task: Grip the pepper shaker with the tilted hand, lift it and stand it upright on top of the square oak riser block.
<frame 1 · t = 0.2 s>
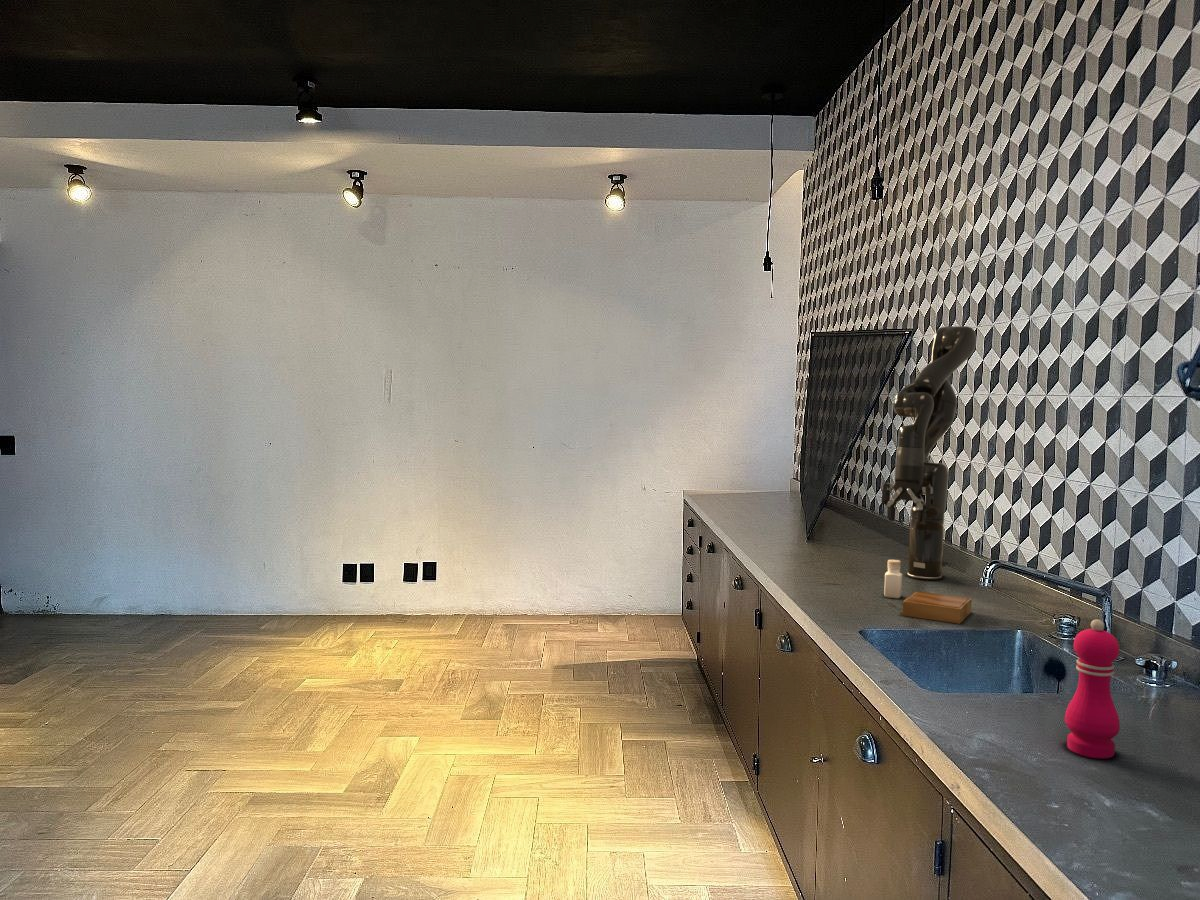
hand: (905, 522, 252), 17 cm above the worktop, tool pointing down, fingers open, 8 cm apart
pepper mill: (1090, 752, 136), on the worktop
riser: (936, 614, 219), on the worktop
pepper shaker: (892, 597, 236), on the worktop
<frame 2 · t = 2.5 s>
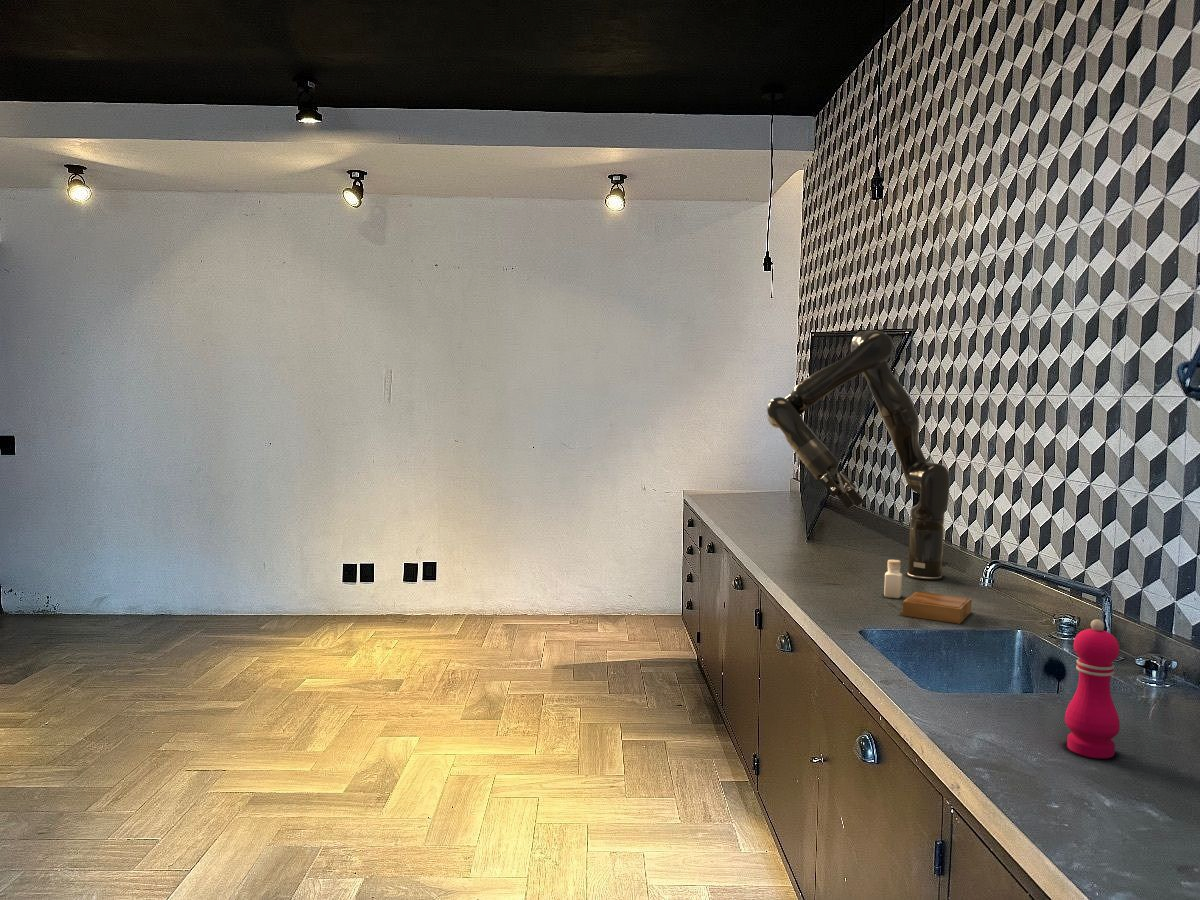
hand: (855, 505, 241), 23 cm above the worktop, tool tilted 45°, fingers open, 8 cm apart
nothing on the worktop moved.
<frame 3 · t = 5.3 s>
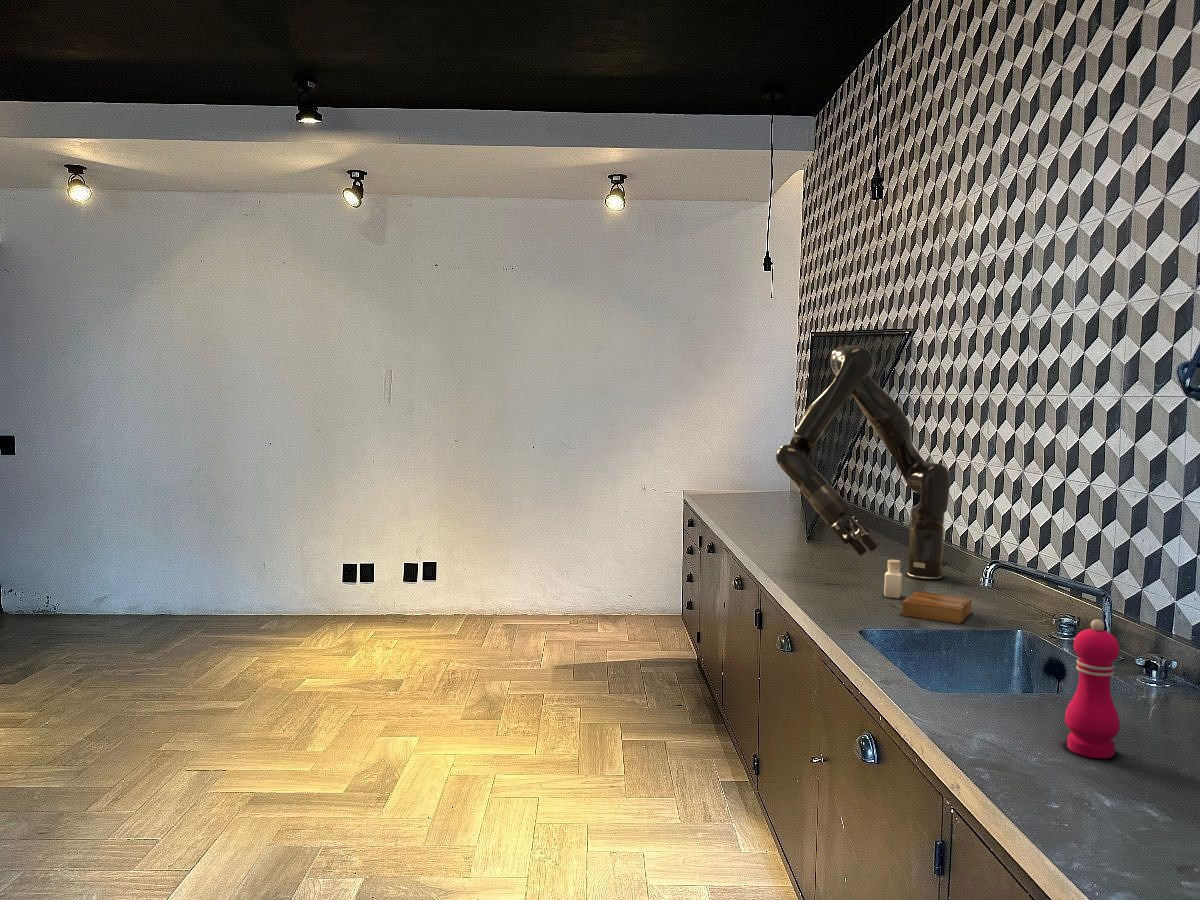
hand: (869, 551, 239), 11 cm above the worktop, tool tilted 45°, fingers open, 8 cm apart
nothing on the worktop moved.
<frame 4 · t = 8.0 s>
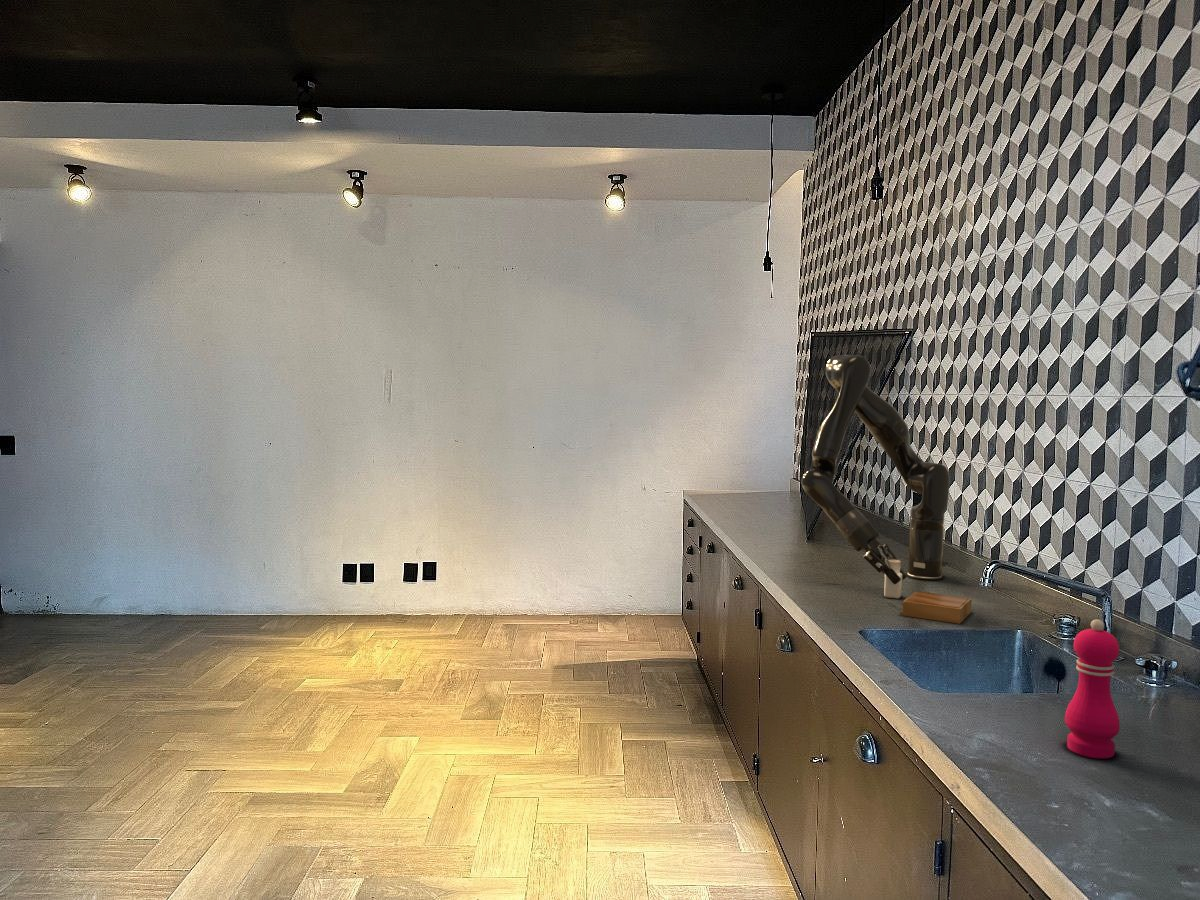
hand: (900, 580, 235), 5 cm above the worktop, tool tilted 45°, fingers closed on pepper shaker, 4 cm apart
pepper shaker: (892, 597, 236), on the worktop, touching gripper
everything else where it was.
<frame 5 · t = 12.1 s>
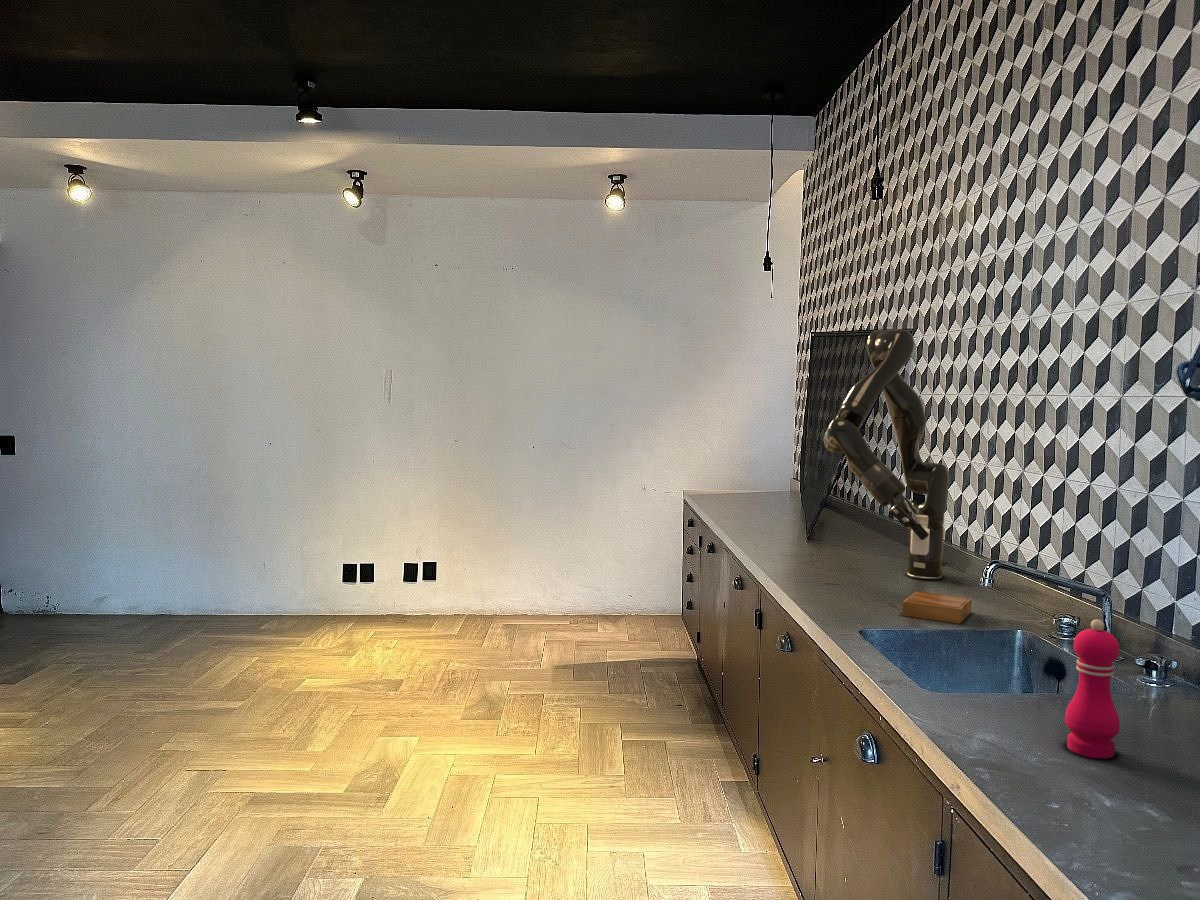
hand: (928, 536, 223), 18 cm above the worktop, tool tilted 45°, fingers closed on pepper shaker, 4 cm apart
pepper shaker: (919, 554, 225), point 13 cm above the worktop, touching gripper
everything else where it was.
when the fingers open (8 cm above the worktop, at t = 16.1 s): pepper shaker stays where it is, resting on riser.
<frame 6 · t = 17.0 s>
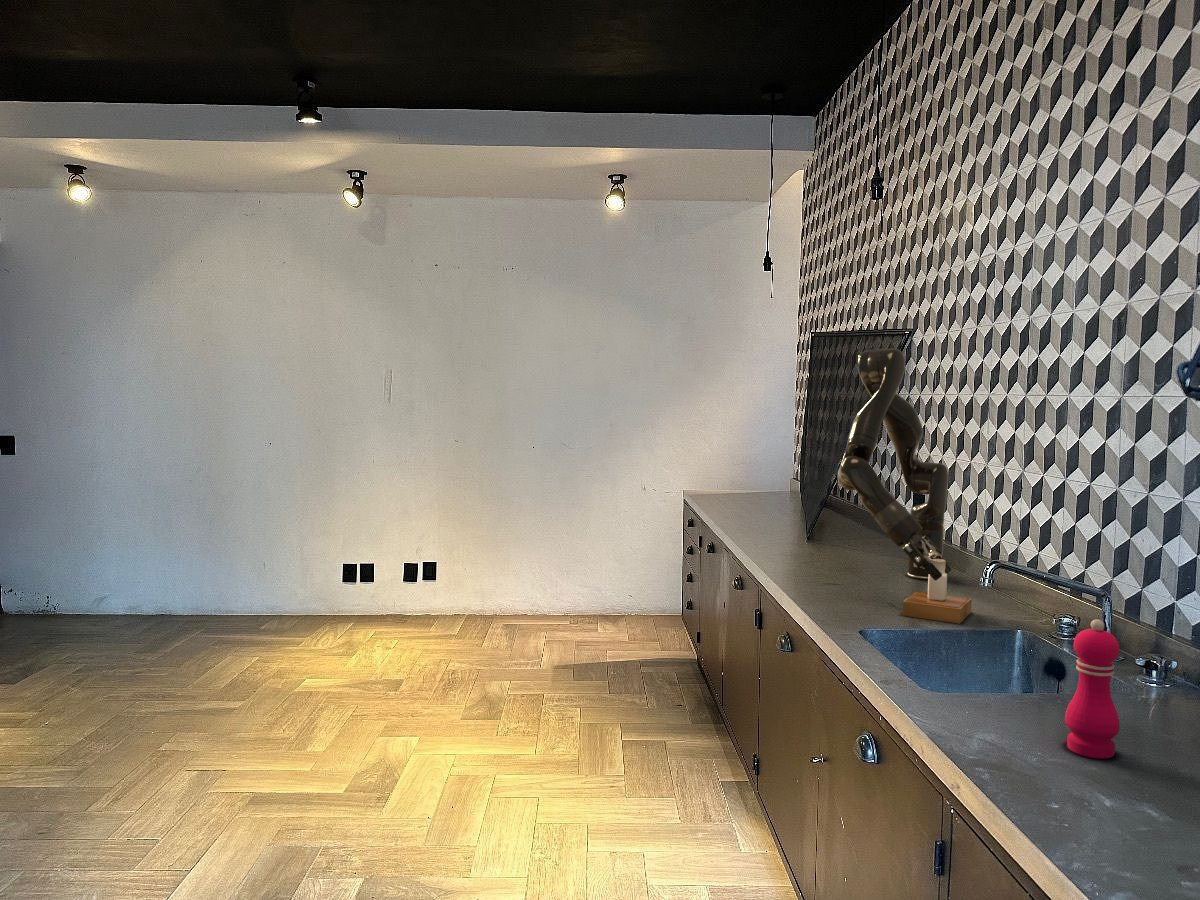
hand: (944, 575, 217), 10 cm above the worktop, tool tilted 45°, fingers open, 8 cm apart
pepper shaker: (936, 599, 219), point 3 cm above the worktop, touching riser
everything else where it was.
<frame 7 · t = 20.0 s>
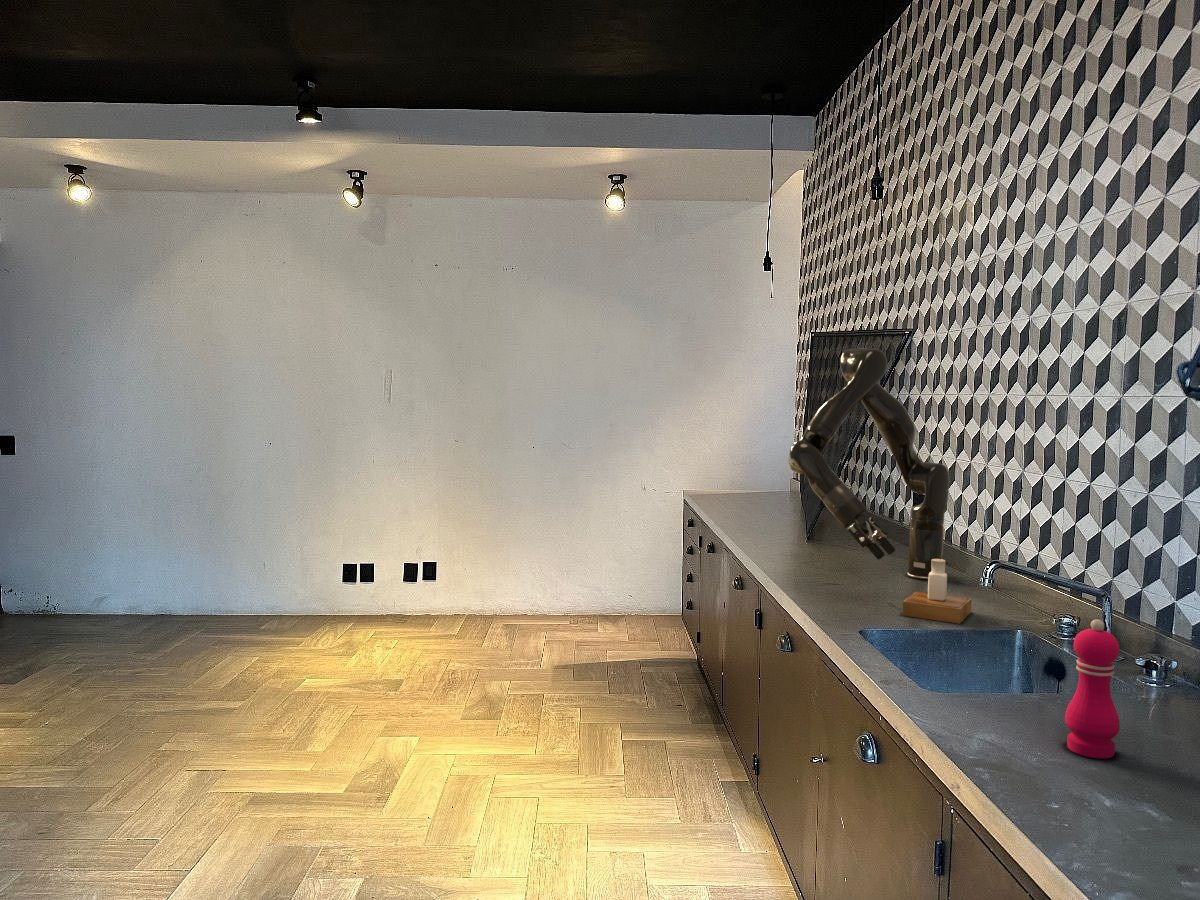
hand: (887, 554, 226), 13 cm above the worktop, tool tilted 45°, fingers open, 8 cm apart
nothing on the worktop moved.
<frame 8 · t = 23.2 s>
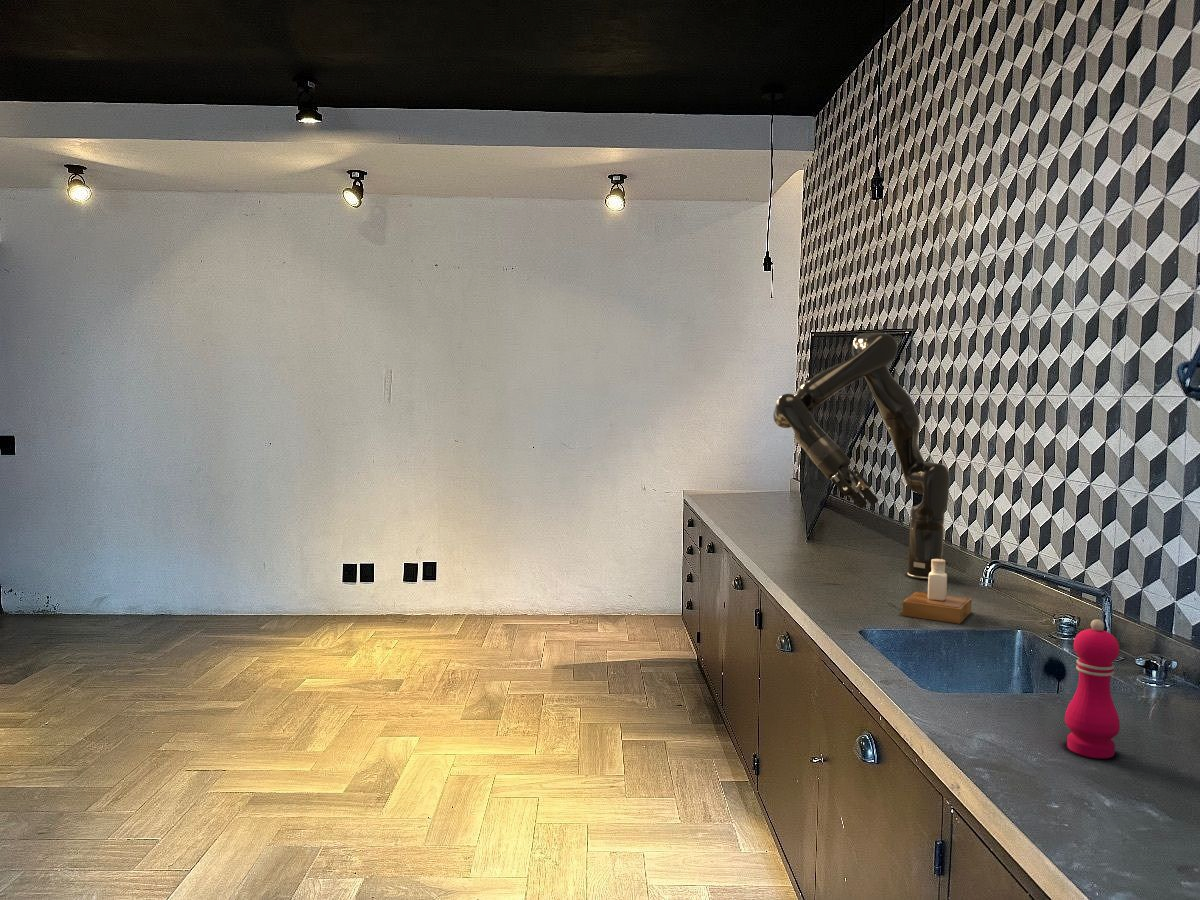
hand: (870, 504, 230), 25 cm above the worktop, tool tilted 45°, fingers open, 8 cm apart
nothing on the worktop moved.
at the end: pepper shaker inside the target area on the riser (0.2 cm from its centre), point 3.5 cm above the riser's base; pepper shaker tilted 0°; the gripper is holding nothing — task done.
